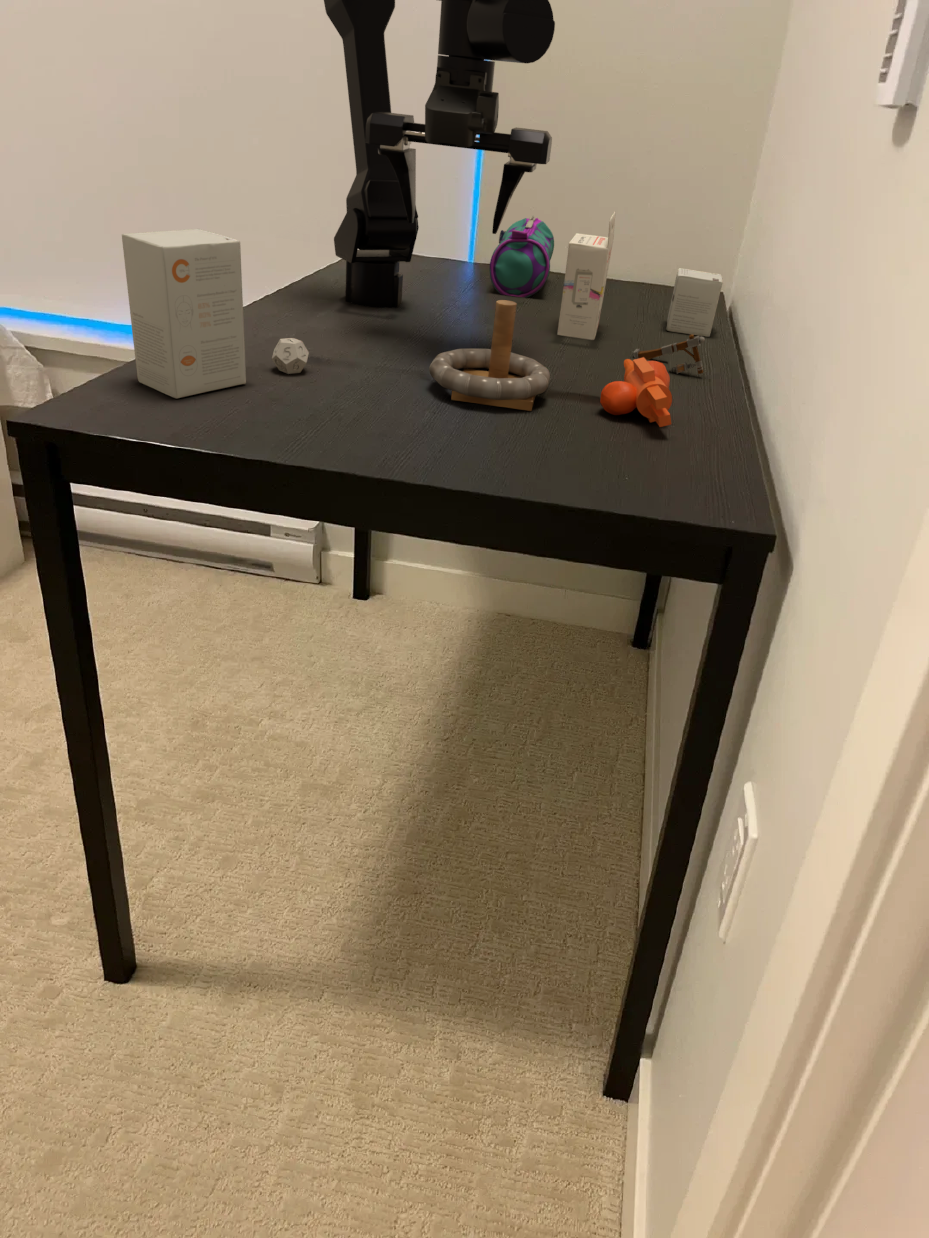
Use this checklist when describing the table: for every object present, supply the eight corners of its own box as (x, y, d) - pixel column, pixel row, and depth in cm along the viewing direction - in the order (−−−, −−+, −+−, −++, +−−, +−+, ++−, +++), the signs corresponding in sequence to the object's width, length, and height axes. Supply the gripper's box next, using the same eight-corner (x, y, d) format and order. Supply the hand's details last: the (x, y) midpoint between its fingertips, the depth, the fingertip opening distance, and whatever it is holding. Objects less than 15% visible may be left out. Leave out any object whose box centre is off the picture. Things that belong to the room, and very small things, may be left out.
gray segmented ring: (419, 391, 85) (420, 371, 84) (441, 359, 95) (443, 340, 94) (543, 409, 84) (546, 388, 83) (551, 374, 94) (554, 356, 93)
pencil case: (495, 273, 144) (502, 209, 139) (549, 280, 144) (558, 216, 139) (484, 300, 127) (491, 228, 122) (545, 307, 126) (555, 235, 121)
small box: (207, 368, 88) (199, 227, 81) (247, 385, 85) (242, 240, 78) (134, 381, 83) (119, 232, 76) (175, 400, 80) (162, 245, 73)
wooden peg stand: (451, 400, 87) (459, 305, 82) (463, 377, 94) (471, 289, 89) (531, 411, 86) (544, 317, 82) (538, 387, 93) (550, 299, 89)
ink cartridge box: (560, 327, 117) (578, 206, 110) (598, 332, 117) (618, 211, 109) (553, 342, 110) (572, 214, 102) (593, 348, 109) (614, 219, 102)
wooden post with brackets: (709, 372, 101) (702, 333, 100) (641, 388, 105) (632, 350, 103) (711, 369, 103) (704, 330, 101) (644, 384, 106) (636, 347, 105)
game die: (281, 377, 88) (280, 347, 86) (267, 366, 91) (266, 336, 89) (313, 374, 90) (314, 344, 88) (299, 364, 92) (299, 335, 91)
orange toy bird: (689, 379, 80) (657, 343, 90) (608, 398, 81) (586, 361, 91) (694, 430, 83) (663, 390, 93) (616, 449, 84) (593, 407, 94)
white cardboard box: (666, 321, 126) (677, 267, 122) (709, 328, 125) (722, 273, 121) (665, 331, 121) (677, 274, 117) (710, 337, 120) (724, 281, 116)
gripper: (353, 45, 82) (349, 227, 90) (554, 67, 80) (531, 250, 88) (381, 49, 91) (375, 214, 99) (561, 69, 90) (540, 235, 98)
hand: (452, 228), depth 96 cm, fingers open, 9 cm apart
